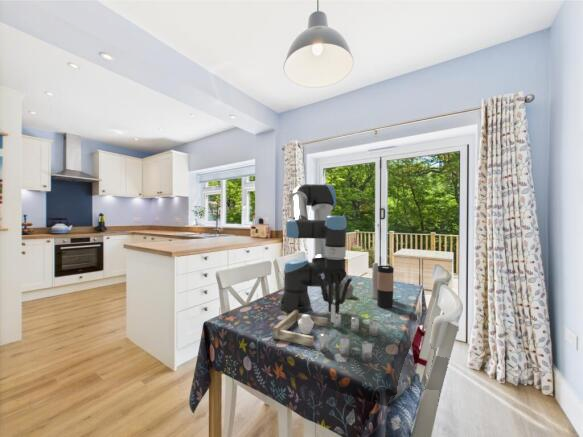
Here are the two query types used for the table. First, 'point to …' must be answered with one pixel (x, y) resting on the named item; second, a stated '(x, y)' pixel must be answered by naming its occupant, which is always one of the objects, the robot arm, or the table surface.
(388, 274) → the travel mug
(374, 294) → the candle
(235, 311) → the table surface
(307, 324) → the grey faceted vase
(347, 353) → the spacer field
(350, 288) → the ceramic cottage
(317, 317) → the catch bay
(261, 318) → the table surface
